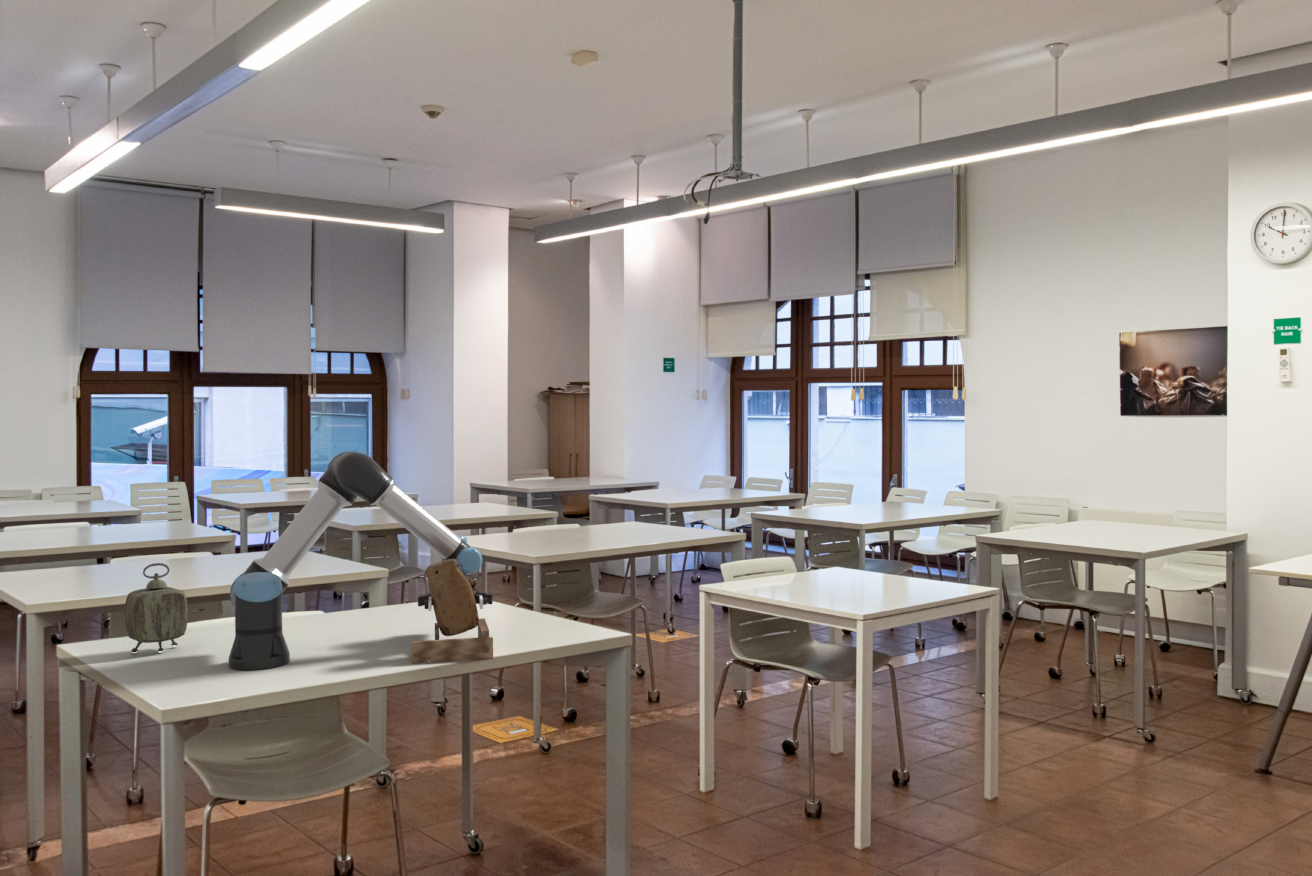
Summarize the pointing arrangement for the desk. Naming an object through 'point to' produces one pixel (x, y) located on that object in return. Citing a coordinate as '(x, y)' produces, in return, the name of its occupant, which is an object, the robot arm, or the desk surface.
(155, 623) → the tabletop clock
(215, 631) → the desk surface
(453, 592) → the block
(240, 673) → the desk surface
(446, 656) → the wooden holder
